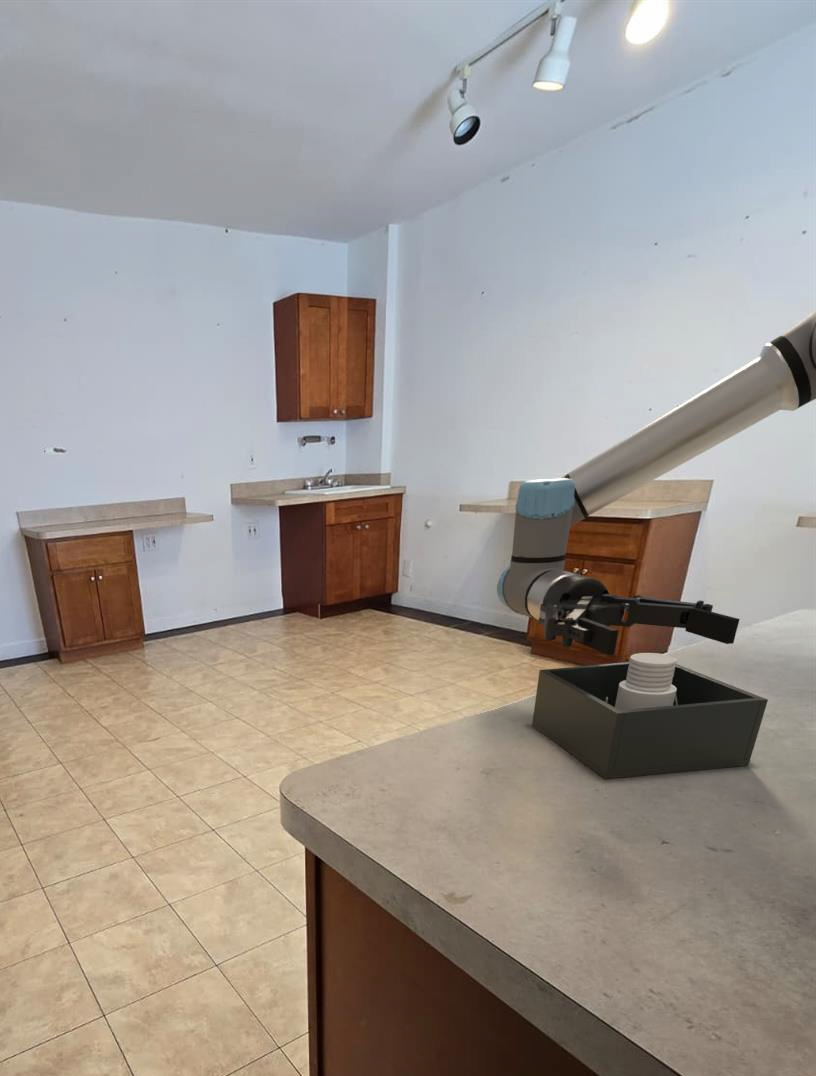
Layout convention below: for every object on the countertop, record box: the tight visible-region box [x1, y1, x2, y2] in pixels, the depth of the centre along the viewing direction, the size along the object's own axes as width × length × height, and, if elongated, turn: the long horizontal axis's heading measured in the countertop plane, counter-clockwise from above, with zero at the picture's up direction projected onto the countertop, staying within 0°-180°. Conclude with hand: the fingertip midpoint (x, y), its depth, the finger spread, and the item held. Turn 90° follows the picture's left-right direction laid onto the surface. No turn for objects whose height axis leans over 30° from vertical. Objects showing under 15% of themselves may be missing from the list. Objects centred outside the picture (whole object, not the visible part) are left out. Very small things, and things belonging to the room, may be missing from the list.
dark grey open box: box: [531, 661, 769, 780], centre depth 77 cm, size 17×17×8 cm
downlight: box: [606, 652, 678, 711], centre depth 76 cm, size 8×7×10 cm
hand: (673, 637), depth 70 cm, fingers open, 13 cm apart
